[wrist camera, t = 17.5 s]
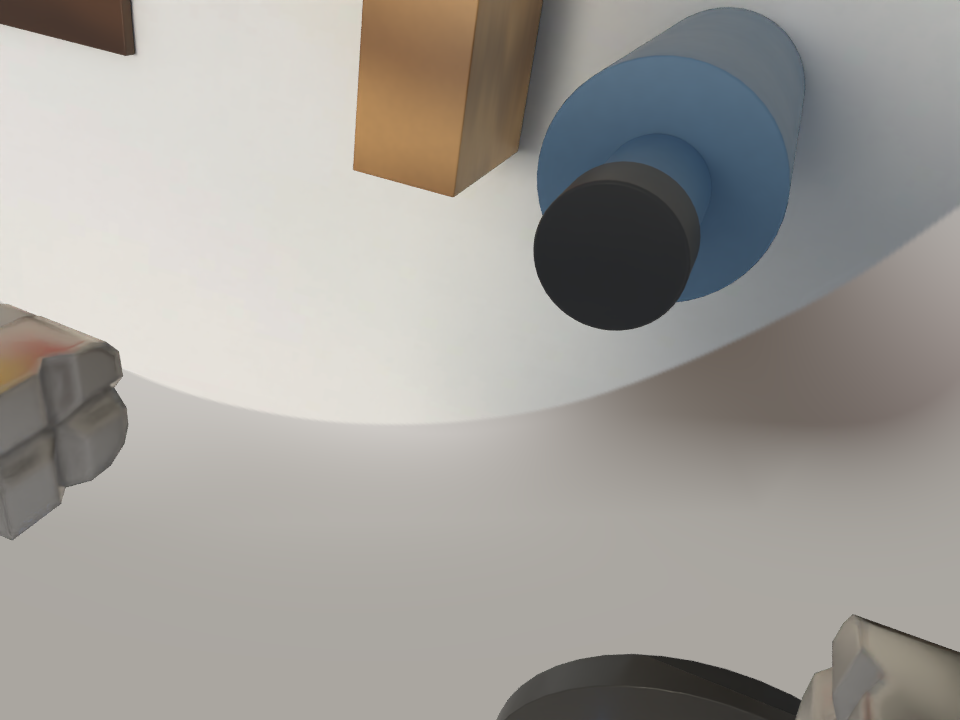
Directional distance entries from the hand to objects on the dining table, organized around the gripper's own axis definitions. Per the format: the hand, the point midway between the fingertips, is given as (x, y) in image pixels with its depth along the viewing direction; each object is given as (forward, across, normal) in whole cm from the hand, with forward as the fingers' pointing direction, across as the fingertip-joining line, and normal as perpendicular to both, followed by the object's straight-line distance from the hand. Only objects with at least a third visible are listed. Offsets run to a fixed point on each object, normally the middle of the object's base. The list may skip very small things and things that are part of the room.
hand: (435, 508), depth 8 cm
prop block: (+26, +9, 0) cm, 28 cm away
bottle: (+25, +4, 0) cm, 26 cm away
